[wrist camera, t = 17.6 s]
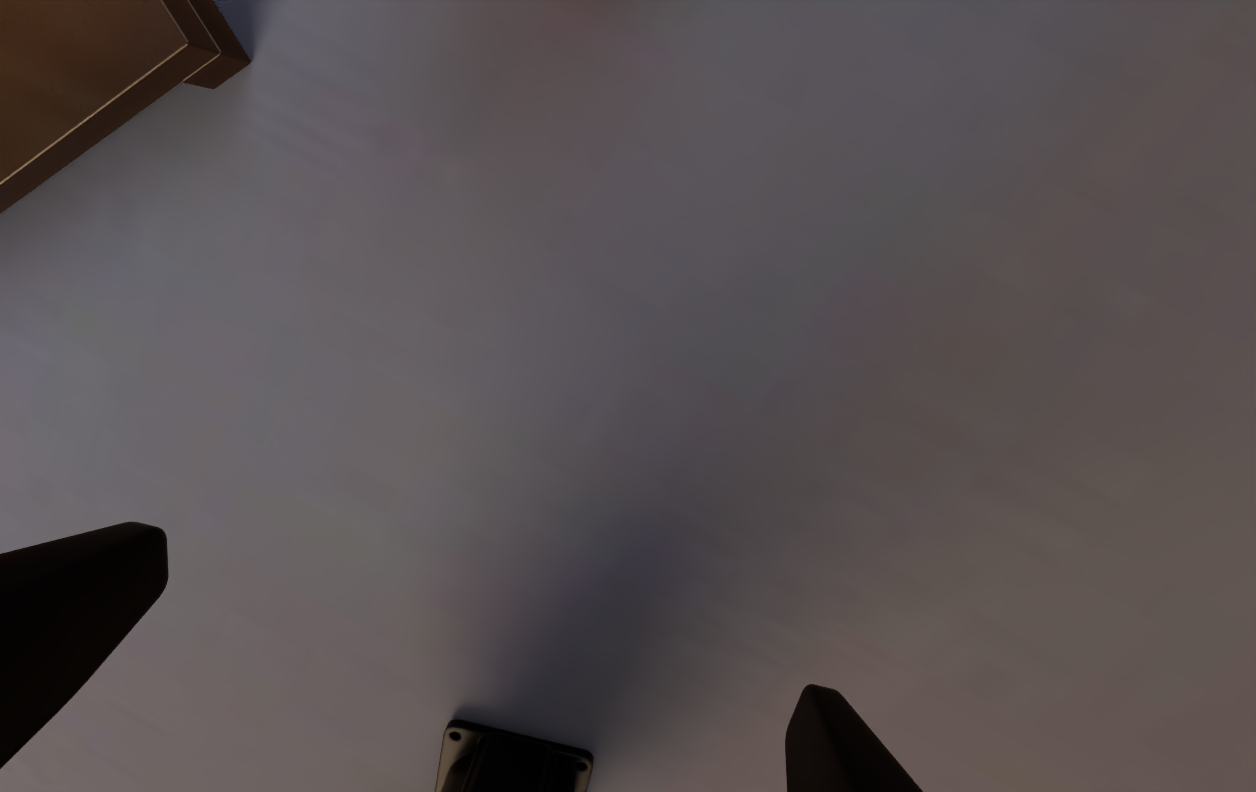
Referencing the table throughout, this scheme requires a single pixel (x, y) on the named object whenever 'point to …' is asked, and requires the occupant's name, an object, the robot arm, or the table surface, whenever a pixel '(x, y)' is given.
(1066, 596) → the table surface
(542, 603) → the table surface
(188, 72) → the dark brown wooden piece
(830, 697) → the robot arm
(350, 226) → the table surface
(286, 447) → the table surface
